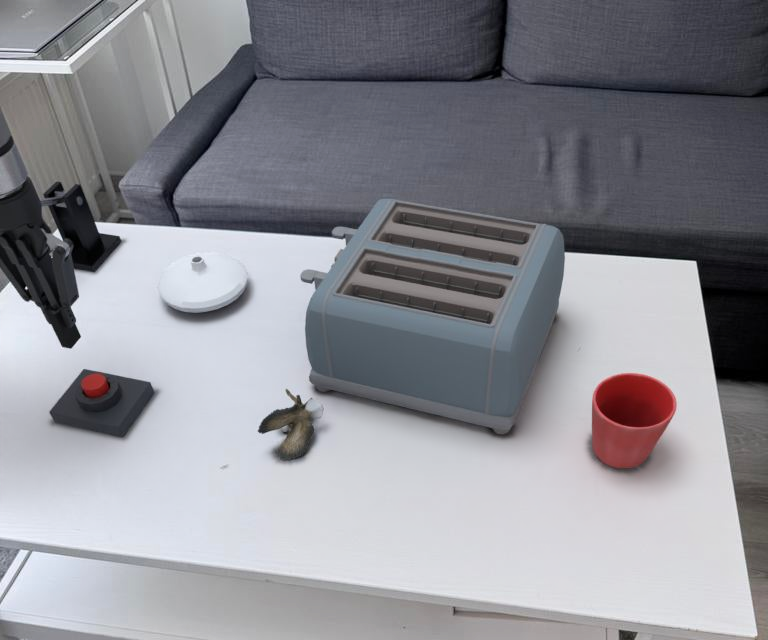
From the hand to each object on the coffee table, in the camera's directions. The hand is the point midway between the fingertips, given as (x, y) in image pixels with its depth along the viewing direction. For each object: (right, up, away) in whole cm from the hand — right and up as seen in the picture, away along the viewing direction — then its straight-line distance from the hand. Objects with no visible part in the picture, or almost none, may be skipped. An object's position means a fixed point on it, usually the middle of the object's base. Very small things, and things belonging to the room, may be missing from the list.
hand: (71, 341), depth 106 cm
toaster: (+52, +2, +15) cm, 54 cm away
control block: (+1, -8, +10) cm, 13 cm away
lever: (-14, +28, +23) cm, 39 cm away
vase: (+13, +14, +26) cm, 33 cm away
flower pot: (+78, -15, 0) cm, 80 cm away
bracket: (-12, +25, +35) cm, 45 cm away
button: (+1, -6, +7) cm, 9 cm away
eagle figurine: (+31, -13, +4) cm, 34 cm away
